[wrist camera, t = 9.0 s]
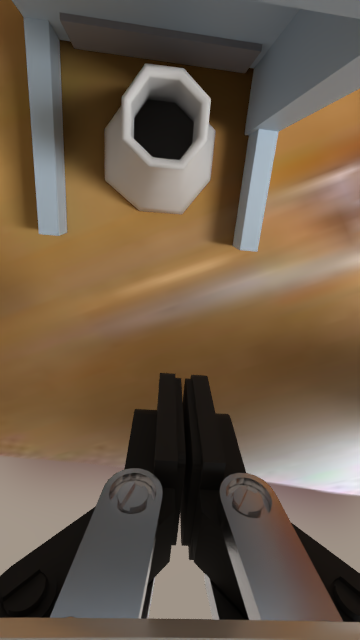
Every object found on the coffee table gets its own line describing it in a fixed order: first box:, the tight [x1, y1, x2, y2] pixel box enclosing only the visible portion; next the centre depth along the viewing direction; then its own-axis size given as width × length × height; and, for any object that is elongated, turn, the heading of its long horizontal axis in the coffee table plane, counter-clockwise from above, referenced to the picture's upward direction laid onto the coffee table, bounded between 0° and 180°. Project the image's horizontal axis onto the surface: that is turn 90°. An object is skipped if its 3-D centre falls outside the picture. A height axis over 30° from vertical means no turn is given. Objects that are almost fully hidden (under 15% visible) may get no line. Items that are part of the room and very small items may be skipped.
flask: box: [104, 63, 216, 214], centre depth 15 cm, size 7×7×10 cm
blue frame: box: [12, 0, 360, 252], centre depth 13 cm, size 14×12×15 cm
